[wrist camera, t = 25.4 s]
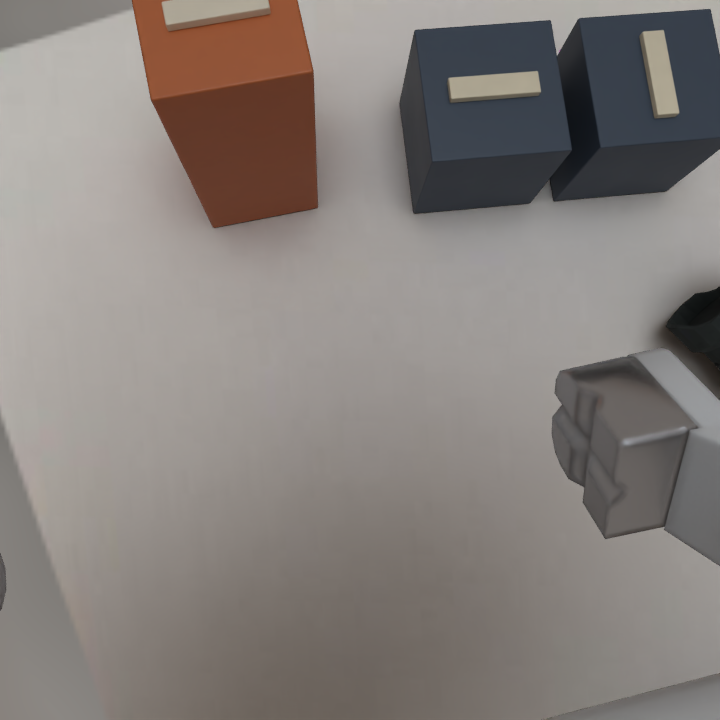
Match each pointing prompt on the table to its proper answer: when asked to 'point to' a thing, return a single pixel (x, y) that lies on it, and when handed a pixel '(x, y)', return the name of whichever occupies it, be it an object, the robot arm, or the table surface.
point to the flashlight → (699, 324)
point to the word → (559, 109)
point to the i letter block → (235, 101)
